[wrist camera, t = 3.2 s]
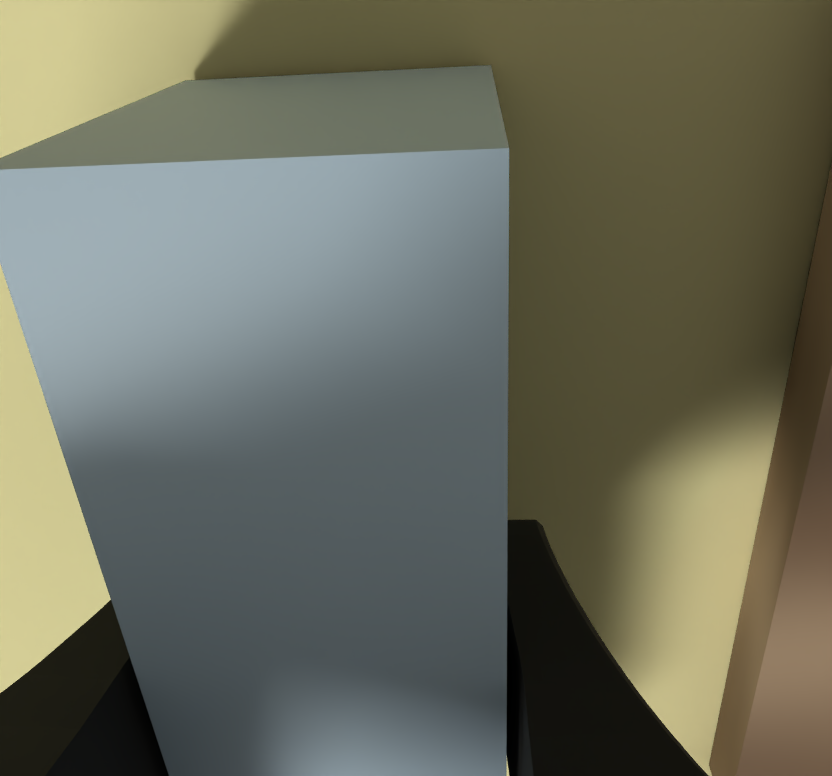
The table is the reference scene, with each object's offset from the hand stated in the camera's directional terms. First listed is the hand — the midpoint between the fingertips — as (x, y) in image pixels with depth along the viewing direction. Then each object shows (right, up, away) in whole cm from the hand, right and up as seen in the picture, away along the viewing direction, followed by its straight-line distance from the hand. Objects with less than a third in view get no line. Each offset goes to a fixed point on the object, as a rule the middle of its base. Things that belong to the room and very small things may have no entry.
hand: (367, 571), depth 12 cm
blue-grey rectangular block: (0, +1, +1) cm, 2 cm away
